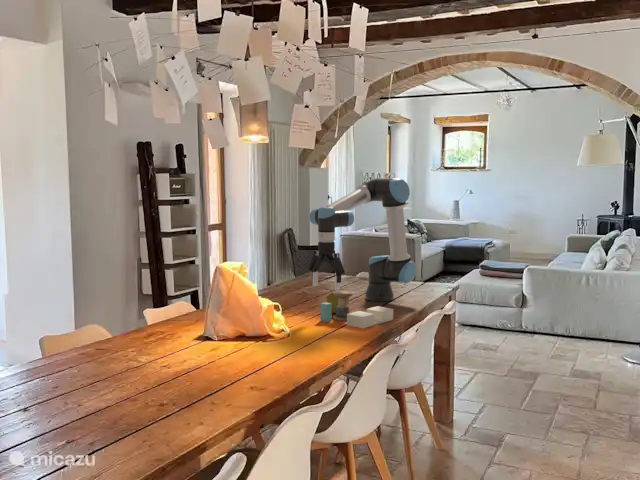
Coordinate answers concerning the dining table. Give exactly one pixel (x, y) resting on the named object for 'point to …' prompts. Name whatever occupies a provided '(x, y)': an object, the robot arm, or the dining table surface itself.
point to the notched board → (370, 317)
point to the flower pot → (334, 301)
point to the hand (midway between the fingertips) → (326, 287)
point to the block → (326, 312)
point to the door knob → (342, 305)
